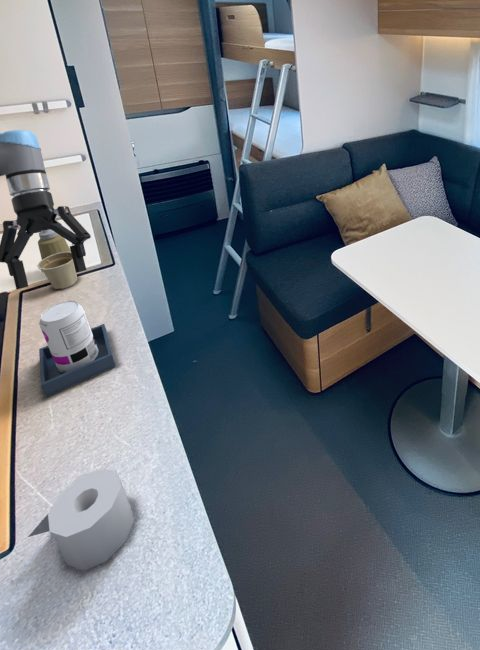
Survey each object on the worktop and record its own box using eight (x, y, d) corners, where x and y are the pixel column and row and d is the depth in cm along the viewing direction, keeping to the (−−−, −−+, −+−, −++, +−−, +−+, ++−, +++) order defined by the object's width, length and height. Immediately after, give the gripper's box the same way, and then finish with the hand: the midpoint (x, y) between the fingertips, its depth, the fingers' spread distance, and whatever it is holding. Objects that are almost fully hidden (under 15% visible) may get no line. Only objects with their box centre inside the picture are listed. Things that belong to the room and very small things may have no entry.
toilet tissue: (45, 527, 66) (27, 494, 63) (137, 492, 71) (125, 459, 68) (26, 595, 59) (4, 561, 55) (130, 551, 63) (116, 517, 60)
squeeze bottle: (49, 280, 129) (30, 230, 122) (44, 270, 134) (25, 222, 127) (79, 269, 134) (62, 220, 127) (73, 260, 139) (56, 212, 132)
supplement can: (54, 380, 93) (32, 328, 87) (63, 354, 100) (42, 304, 94) (96, 367, 96) (77, 316, 90) (101, 343, 103) (84, 295, 97)
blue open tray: (44, 360, 99) (39, 348, 97) (107, 334, 106) (104, 323, 105) (46, 397, 89) (40, 385, 88) (116, 366, 97) (112, 354, 95)
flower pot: (65, 294, 122) (56, 270, 119) (38, 291, 124) (28, 267, 120) (90, 276, 131) (82, 252, 127) (65, 273, 132) (57, 250, 129)
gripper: (93, 181, 103) (114, 262, 102) (-10, 208, 101) (10, 291, 100) (74, 179, 96) (96, 266, 95) (-38, 208, 94) (-17, 298, 93)
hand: (52, 279), depth 98 cm, fingers open, 13 cm apart
